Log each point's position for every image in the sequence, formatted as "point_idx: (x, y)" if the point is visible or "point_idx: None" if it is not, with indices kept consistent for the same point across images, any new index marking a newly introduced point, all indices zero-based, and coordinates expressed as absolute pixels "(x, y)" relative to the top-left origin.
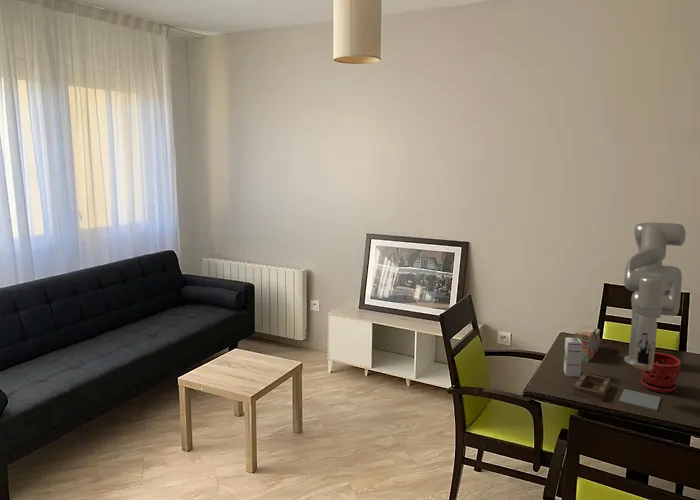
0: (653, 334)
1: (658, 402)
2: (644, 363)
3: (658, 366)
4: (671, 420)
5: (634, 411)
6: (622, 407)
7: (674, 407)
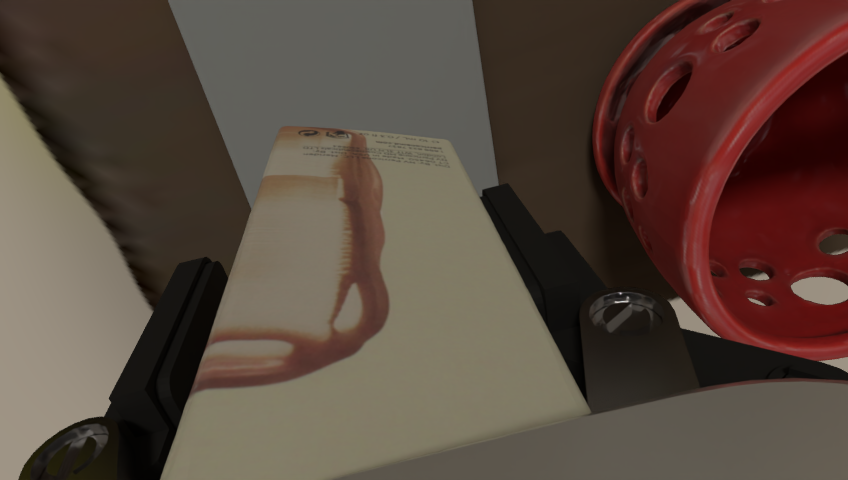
0: None
1: None
2: None
3: (674, 240)
4: None
5: (121, 155)
6: (100, 64)
7: None
